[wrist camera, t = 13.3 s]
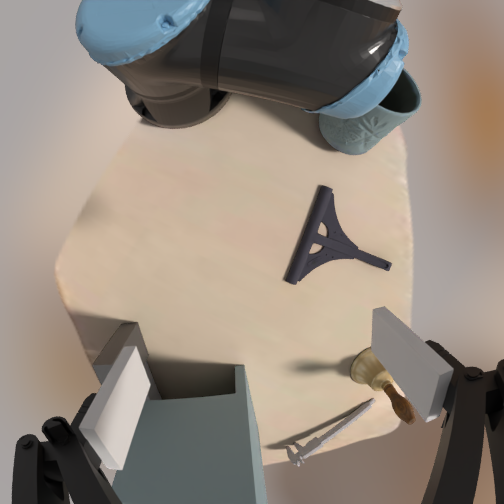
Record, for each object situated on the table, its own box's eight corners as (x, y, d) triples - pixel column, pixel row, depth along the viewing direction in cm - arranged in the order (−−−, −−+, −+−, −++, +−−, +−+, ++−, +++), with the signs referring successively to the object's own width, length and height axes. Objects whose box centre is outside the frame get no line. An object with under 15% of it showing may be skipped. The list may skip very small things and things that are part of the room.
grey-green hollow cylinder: (380, 120, 39) (420, 74, 27) (372, 173, 37) (422, 130, 25) (319, 93, 38) (348, 36, 26) (304, 143, 36) (337, 86, 24)
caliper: (288, 447, 51) (293, 469, 45) (285, 445, 51) (290, 467, 45) (374, 399, 50) (386, 419, 44) (372, 396, 50) (385, 416, 44)
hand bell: (397, 346, 47) (444, 397, 31) (380, 383, 49) (418, 437, 33) (359, 344, 46) (402, 401, 30) (343, 382, 48) (376, 444, 32)
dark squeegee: (367, 305, 45) (374, 311, 42) (284, 278, 43) (288, 285, 40) (401, 222, 42) (410, 224, 40) (320, 185, 40) (326, 185, 38)
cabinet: (145, 374, 45) (99, 499, 19) (244, 364, 45) (256, 505, 20) (172, 435, 48) (154, 545, 23) (258, 428, 49) (273, 545, 24)
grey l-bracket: (121, 324, 42) (92, 365, 31) (137, 322, 43) (111, 364, 31) (157, 415, 47) (145, 462, 35) (172, 415, 47) (162, 463, 35)
